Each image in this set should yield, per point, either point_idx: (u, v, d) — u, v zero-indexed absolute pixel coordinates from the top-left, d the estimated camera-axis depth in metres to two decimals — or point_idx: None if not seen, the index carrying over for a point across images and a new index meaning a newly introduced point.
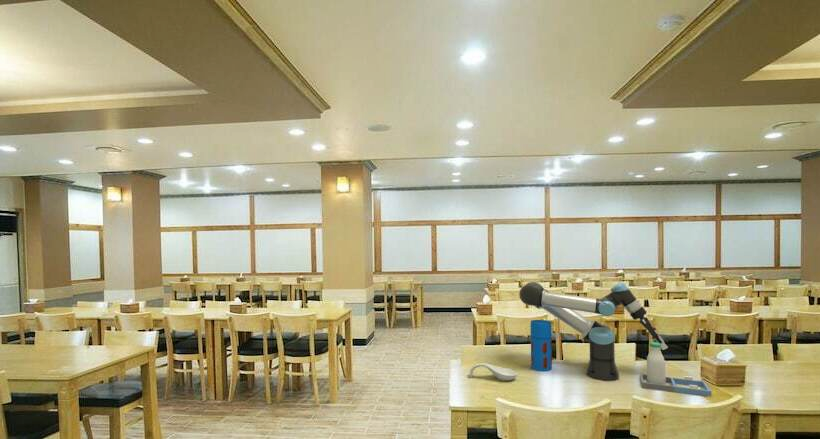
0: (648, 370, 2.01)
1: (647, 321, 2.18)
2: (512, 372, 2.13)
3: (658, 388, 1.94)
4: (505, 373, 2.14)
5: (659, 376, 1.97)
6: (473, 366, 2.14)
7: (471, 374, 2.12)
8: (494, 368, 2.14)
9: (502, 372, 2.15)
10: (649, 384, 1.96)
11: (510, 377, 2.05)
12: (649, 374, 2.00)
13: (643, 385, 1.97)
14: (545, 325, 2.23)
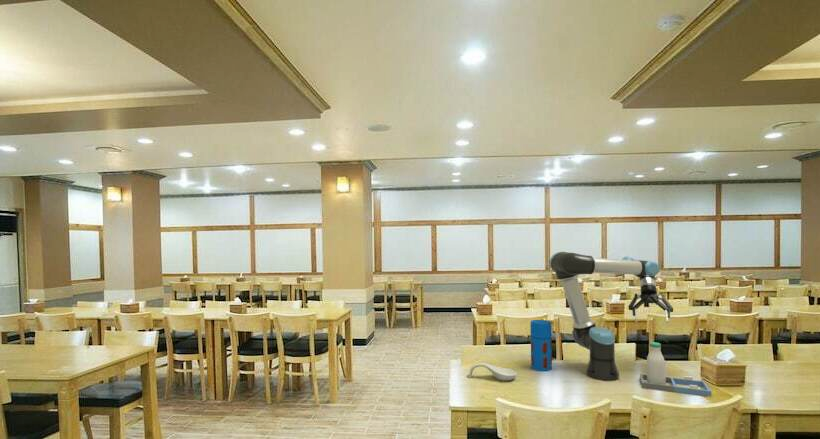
0: (648, 370, 2.01)
1: None
2: (512, 372, 2.13)
3: (658, 388, 1.94)
4: (505, 373, 2.14)
5: (659, 376, 1.97)
6: (473, 366, 2.14)
7: (471, 374, 2.12)
8: (494, 368, 2.14)
9: (502, 372, 2.15)
10: (649, 384, 1.96)
11: (509, 377, 2.05)
12: (649, 374, 2.00)
13: (643, 385, 1.97)
14: (545, 325, 2.23)
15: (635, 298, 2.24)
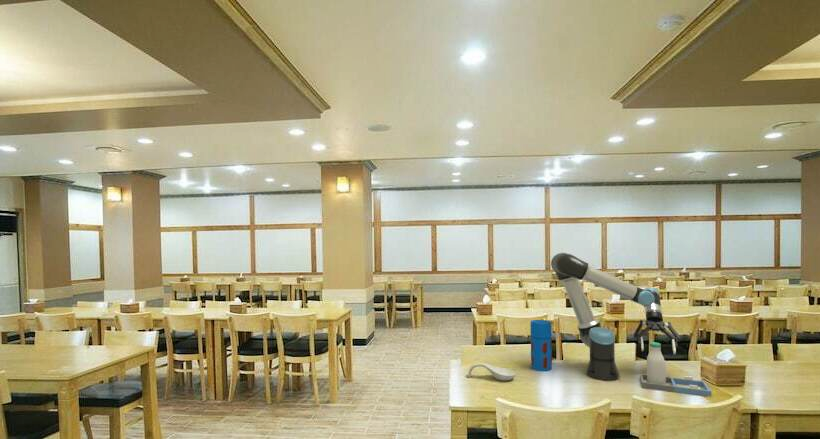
0: (648, 370, 2.01)
1: None
2: (511, 372, 2.13)
3: (658, 388, 1.94)
4: (504, 373, 2.14)
5: (659, 376, 1.97)
6: (472, 366, 2.15)
7: (469, 374, 2.12)
8: (493, 368, 2.15)
9: (501, 372, 2.15)
10: (649, 384, 1.96)
11: (508, 377, 2.05)
12: (649, 374, 2.00)
13: (643, 385, 1.97)
14: (545, 325, 2.23)
15: (641, 325, 2.15)
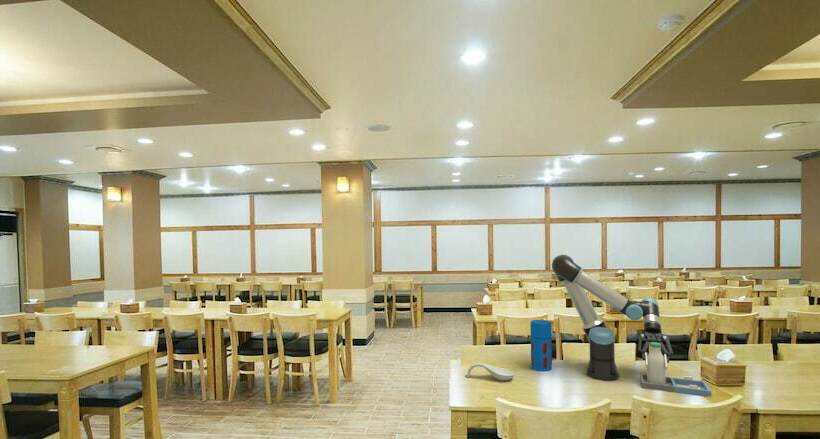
0: (648, 370, 2.01)
1: None
2: (510, 372, 2.13)
3: (658, 388, 1.94)
4: (503, 373, 2.14)
5: (659, 376, 1.97)
6: (471, 366, 2.15)
7: (469, 374, 2.12)
8: (492, 368, 2.15)
9: (500, 372, 2.15)
10: (649, 384, 1.96)
11: (507, 377, 2.05)
12: (649, 374, 2.00)
13: (643, 385, 1.97)
14: (545, 325, 2.23)
15: (641, 338, 2.09)
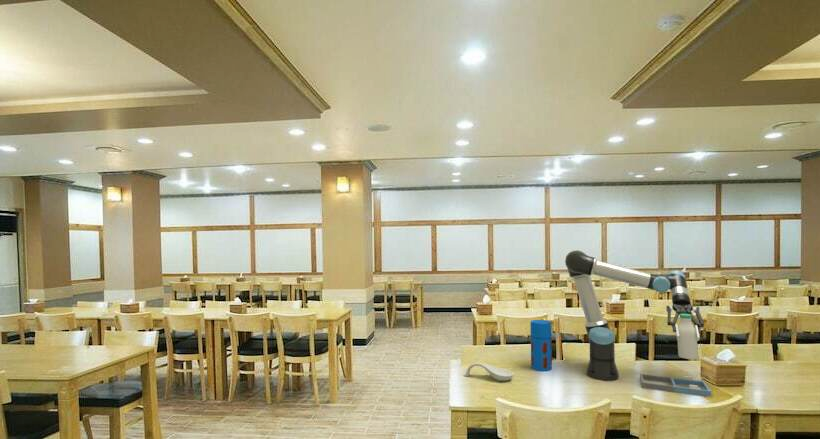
0: (679, 342, 1.96)
1: None
2: (509, 373, 2.12)
3: (658, 388, 1.94)
4: (503, 373, 2.14)
5: (691, 347, 1.93)
6: (470, 365, 2.16)
7: (467, 373, 2.14)
8: (491, 368, 2.15)
9: (500, 372, 2.14)
10: (649, 384, 1.96)
11: (505, 377, 2.05)
12: (680, 346, 1.95)
13: (643, 385, 1.97)
14: (545, 325, 2.23)
15: (670, 311, 2.04)
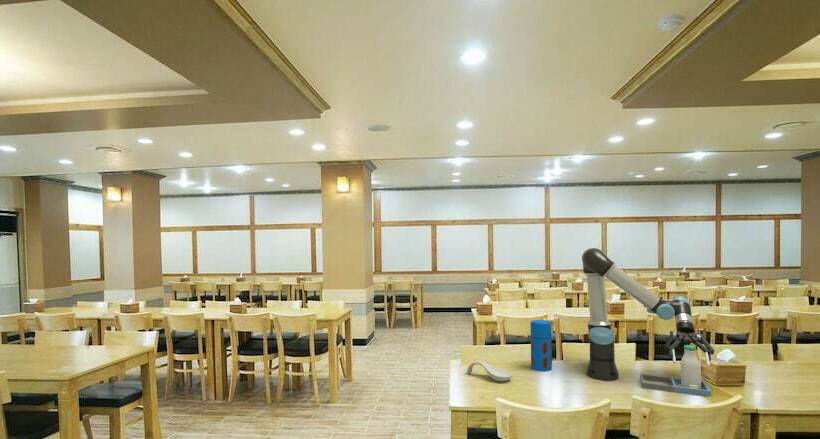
0: (682, 373, 1.95)
1: None
2: (509, 374, 2.10)
3: (658, 388, 1.94)
4: (503, 374, 2.12)
5: (694, 380, 1.92)
6: None
7: (468, 370, 2.18)
8: (492, 368, 2.15)
9: (501, 373, 2.13)
10: (649, 384, 1.96)
11: (500, 378, 2.04)
12: (684, 378, 1.94)
13: (643, 385, 1.97)
14: (545, 325, 2.23)
15: (671, 336, 2.04)
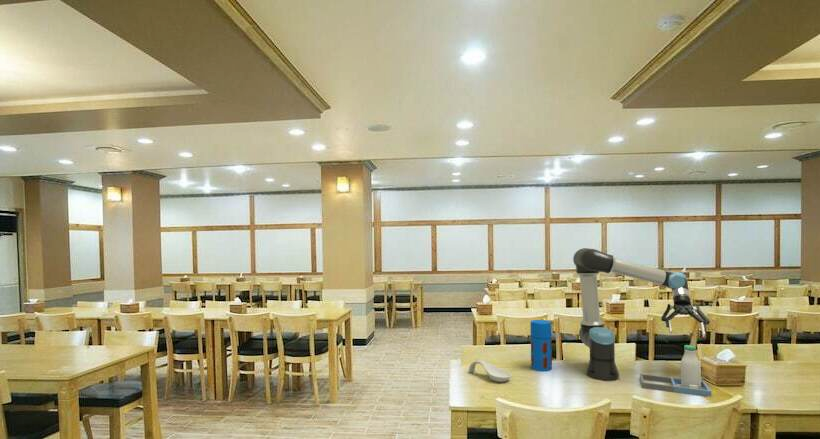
0: (682, 373, 1.95)
1: None
2: (508, 375, 2.08)
3: (658, 388, 1.94)
4: (503, 375, 2.11)
5: (694, 380, 1.92)
6: None
7: (470, 369, 2.20)
8: (493, 368, 2.15)
9: (501, 373, 2.13)
10: (649, 384, 1.96)
11: (497, 378, 2.04)
12: (684, 378, 1.94)
13: (643, 385, 1.97)
14: (545, 325, 2.23)
15: (668, 309, 2.15)
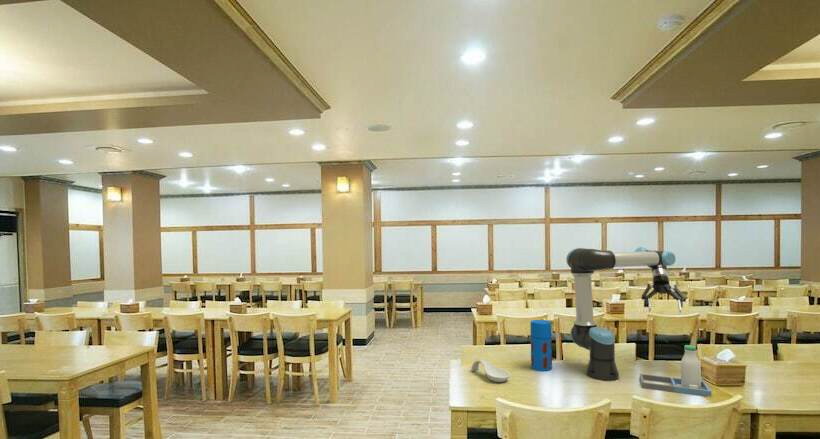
0: (682, 373, 1.95)
1: None
2: (507, 376, 2.07)
3: (658, 388, 1.94)
4: (503, 376, 2.10)
5: (694, 380, 1.92)
6: None
7: (472, 368, 2.22)
8: (494, 368, 2.15)
9: (501, 374, 2.12)
10: (649, 384, 1.96)
11: (493, 378, 2.04)
12: (684, 378, 1.94)
13: (643, 385, 1.97)
14: (545, 325, 2.23)
15: (648, 288, 2.28)
